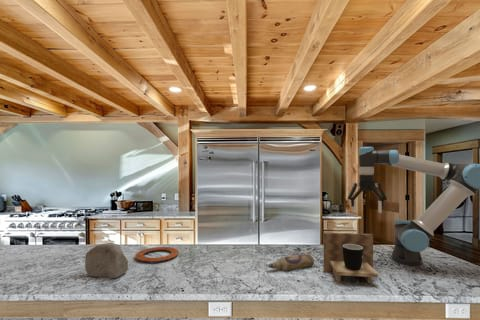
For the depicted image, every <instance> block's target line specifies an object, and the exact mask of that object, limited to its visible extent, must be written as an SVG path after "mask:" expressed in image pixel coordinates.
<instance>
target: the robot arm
mask: <svg viewBox="0 0 480 320" xmlns="http://www.w3.org/2000/svg"><path fill="white" fill-rule="evenodd" d="M375 164H376V165H378V164H380V165H386V166H391V167H395V168H399V169H404V170H408V171H413V172H416V173H417V172H418V173H422V174H426V175H431V176H434V177H438V178H440V179H441V180H445V181H448V182H449V185H448V186H447V188H446V189H444V191H443V192H442V193H441V194H439V196H438V197H437V198H436V199H435V200H434V201H433V202H432V203H431V204H430V206H428V207H427V208H426V210H424V212H423V213H421V215H420V216H419V217H418V218H417V219H411V220H406V219H405V220H404V219H396V220H394V222H393V223H394V225H393V226H394V228H393V229H394V246H393V249H392V250H391V251H392V252H391V260H392V261H394V262H395V263H398V264H402V265H408V266H420V265H423V257H422V254H421V252H424V251H425V250H427V249H428V247H429V246H430V240H431V239H433V238H434V236H435V235H434V231H436V229H437V228H438V227H439V226H440V225H441V224H442V223H443V222H444V221H445V220H446V219H447V218H448V217H450V215H451V214H452V213H453V212H454V211H455V210H456V209H457V207H459V206H460V205H461V204H462V202H464V201H465V200H466V198H467V197H470V196H475V195H476V194H477V193H478V191H480V163H451V162H445V163H441V162H439V161H438V162H437V161H433V160H427V159H423V158H417V157H414V156H408V155H403V154H400V153H399V151H398V149H381V150H378V149H375V148H374V147H373V146H361V147H359V149H358V169H359V170H358V172H359V173H358V174H359V177H358V178H359V179H358V180H359V182H358V183H356V182H353V184H352V188H351V190H350V191H349V194H348V196H347V200H350V206H351V207H352V212H353V213H354V214H355V213H357V211H356V209H357V208H356V207H357V206H356V204H357V203H356V202H357V201H356V200H357V197H358V196H359V195H360V194H361V193H362V192H372V193H373V194H374V196H376V198H377V199H378V200H377V205H378V206H377V209H378V210H377V211H378V213H379V214H382V213H383V211H382V208H383V207H384V202H385V201H387V200H388V199H387V196H386V194H385V192H384V190H383V189H382V185H381V183H379V182H377V183H375V175H374V174H375ZM358 187H359V188H358ZM357 188H358V189H357ZM375 188H377V189H375ZM356 190H357V191H356Z"/></svg>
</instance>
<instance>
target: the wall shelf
mask: <svg viewBox="0 0 480 320" xmlns="http://www.w3.org/2000/svg"><path fill="white" fill-rule="evenodd" d="M344 244H355V245H359V246H362V247H363V259H362V265H361V268H360V269H359V270H350V269H348V268H346V266H345V264H344V258H343V245H344ZM323 273H332V274H333V276H334V278H335V280H336V281H337V282H342V280H341V278H342V276H349V277H350V276H351V277H363V278H364V280H365V281H366V282H367V283H368V284H372V279H373V278H378V277H379V273H378V272H377V271H376V270H375V269H374V234H373V233H353V232H352V233H350V232H349V233H347V232H343V233H342V232H323Z"/></svg>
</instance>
